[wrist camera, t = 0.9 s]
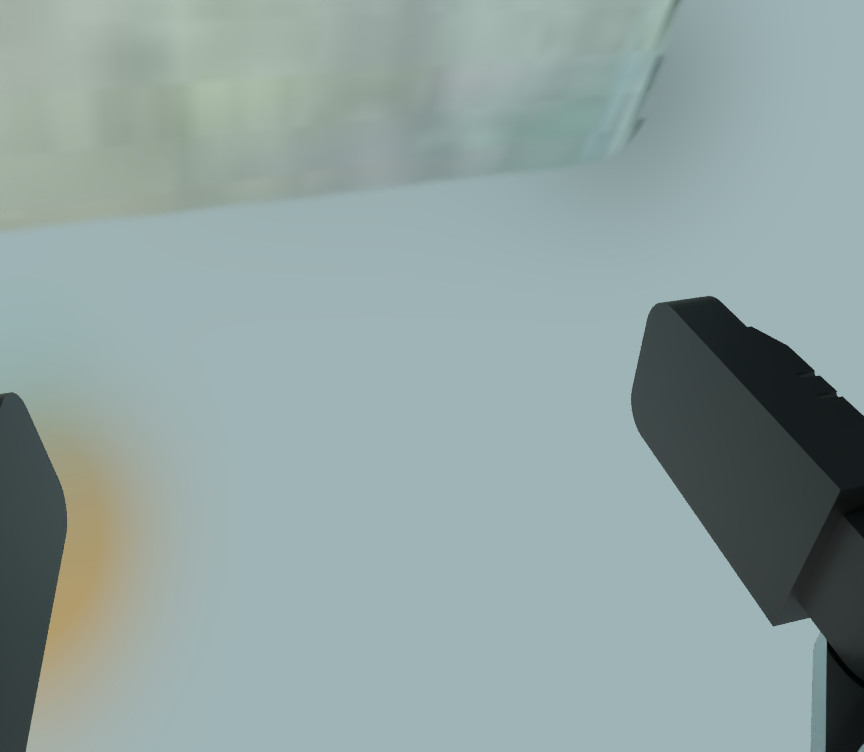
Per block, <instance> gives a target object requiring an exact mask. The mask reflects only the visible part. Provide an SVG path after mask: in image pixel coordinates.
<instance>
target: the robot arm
mask: <svg viewBox="0 0 864 752" xmlns="http://www.w3.org/2000/svg"><path fill="white" fill-rule="evenodd" d="M836 392H837V391H836V390H835V389H834V388H833V387H832V386H831V385H829V384H828V383H827V382H826V381H825V380H824V379H823V378H822V377H821V376H815V374H814V370H813V369H812V368H811V367H810V366H809V365H808V364H807V363H806V362H805V361H804V360H803V359H802V358H800V357H799V356H798V355H797V354H796V353H795V352H794V351H793V350H792V349H791V348H789V346H787V345H785V344H783V343H781V342H780V341H778V340H776V339H774V338H772V337H770V336H768V335H767V334H765V333H763V332H761V331H759V330H757V329H755V328H753V327H746V326H745V325H744V324H743V323H742V322H741V321H740V320H739V319H738V318H737V317H736V316H735V315H734V314H733V313H732V312H731V311H730V310H729V309H728V308H727V307H726V306H725V305H724V304H723V303H722V302H720V301H719V300H718V299H717V298H714V297H712V296H706V297H699V298H692V299H684V300H677V301H670V302H663V303H658V304H656V305H655V306H654V307H653V308H652V309H651V311H650V313H649V315H648V319H647V323H646V328H645V333H644V337H643V341H642V346H641V351H640V356H639V360H638V365H637V369H636V374H635V378H634V383H633V388H632V394H631V405H632V412H633V417H634V421H635V424H636V426H637V428H638V431H639V433H640V434H641V436H642V438H643V439H644V440H645V442H646V443H647V445H648V446H649V448H650V449H651V450H652V452H653V453H654V455H655V456H656V458H657V459H658V461H659V462H660V463H661V465H662V466H663V468H664V469H665V471H666V472H667V474H668V475H669V477H670V478H671V479H672V481H673V482H674V484H675V485H676V487H677V488H678V489H679V491H680V492H681V494H682V495H683V497H684V498H685V500H686V501H687V503H688V504H689V505H690V507H691V508H692V510H693V511H694V513H695V514H696V515H697V517H698V518H699V520H700V521H701V523H702V524H703V526H704V527H705V529H706V530H707V531H708V533H709V534H710V536H711V537H712V539H713V540H714V542H715V543H716V544H717V546H718V547H719V549H720V550H721V552H722V553H723V554H724V556H725V558H726V559H727V560H728V562H729V563H730V565H731V566H732V568H733V569H734V571H735V572H736V573H737V575H738V576H739V578H740V579H741V581H742V582H743V583H744V585H745V586H746V588H747V589H748V591H749V592H750V594H751V595H752V597H753V598H754V599H755V601H756V602H757V604H758V605H759V607H760V608H761V609H762V611H763V612H764V614H765V615H766V617H767V618H768V620H769V621H770V623H771V624H772V625H773V626H776V625H781V624H785V623H789V622H794V621H798V620H802V619H806V618H811V619H812V621H813V622H814V623H815V625H816V626H817V627H818V629H819V630H820V631H821V632H820V634H819V636H818V637H817V640H816V642H815V644H814V650H813V680H812V718H811V720H812V721H811V752H864V416H863V415H862V414H861V413H860V412H859V411H858V410H856V409H855V408H854V407H853V406H852V405H851V404H850V403H849V402H848V401H847V400H846V399H845V398H843V397H838V396H837V394H836ZM66 532H67V511H66V504H65V498H64V494H63V490H62V487H61V484H60V481H59V479H58V477H57V475H56V472H55V470H54V468H53V466H52V464H51V462H50V459H49V457H48V455H47V452H46V450H45V448H44V446H43V443H42V441H41V439H40V437H39V435H38V432H37V430H36V428H35V426H34V424H33V421H32V419H31V417H30V415H29V412H28V410H27V408H26V406H25V404H24V402H23V401H22V399H21V398H20V397H19V396H18V395H17V394H15V393H4V394H0V752H25V751H26V746H27V740H28V735H29V730H30V724H31V718H32V714H33V708H34V703H35V698H36V692H37V687H38V682H39V677H40V671H41V666H42V660H43V655H44V650H45V645H46V639H47V634H48V629H49V623H50V618H51V613H52V607H53V602H54V597H55V591H56V586H57V581H58V575H59V570H60V564H61V559H62V554H63V549H64V543H65V538H66Z"/></svg>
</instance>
